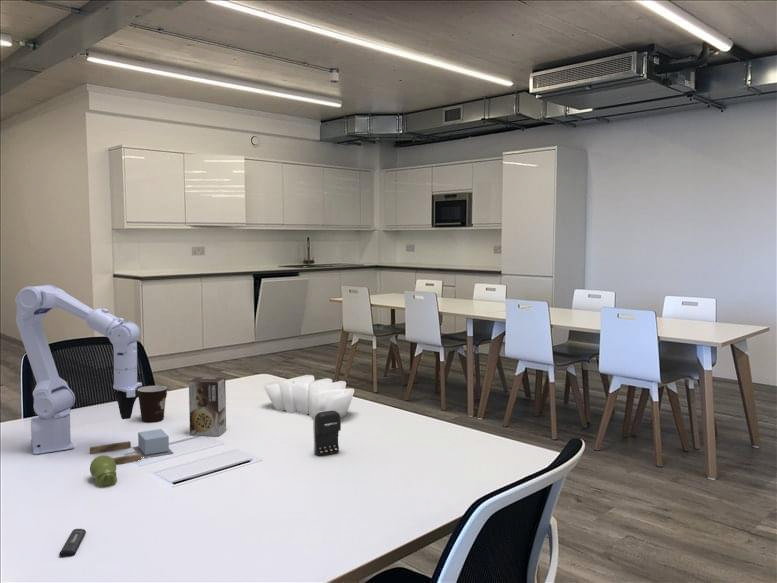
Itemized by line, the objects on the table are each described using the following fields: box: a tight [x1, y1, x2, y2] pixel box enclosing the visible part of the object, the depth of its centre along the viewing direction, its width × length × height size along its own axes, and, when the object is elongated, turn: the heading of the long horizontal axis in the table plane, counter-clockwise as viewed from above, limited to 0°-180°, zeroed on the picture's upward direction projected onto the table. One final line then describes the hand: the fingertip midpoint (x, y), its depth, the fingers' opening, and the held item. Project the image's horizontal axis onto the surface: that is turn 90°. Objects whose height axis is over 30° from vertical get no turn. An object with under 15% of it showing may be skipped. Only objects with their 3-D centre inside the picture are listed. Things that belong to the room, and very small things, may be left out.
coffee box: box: [188, 376, 227, 437], centre depth 184 cm, size 9×6×16 cm
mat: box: [132, 445, 174, 459], centre depth 168 cm, size 8×11×1 cm
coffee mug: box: [137, 385, 168, 424], centre depth 198 cm, size 12×9×10 cm
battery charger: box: [312, 410, 342, 456], centre depth 167 cm, size 7×4×11 cm, turn 121°
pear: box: [89, 454, 118, 488], centre depth 146 cm, size 6×5×10 cm
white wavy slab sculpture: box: [263, 374, 355, 419], centre depth 209 cm, size 35×16×10 cm, turn 50°
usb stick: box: [58, 528, 87, 558], centre depth 115 cm, size 10×3×2 cm, turn 14°
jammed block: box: [137, 428, 170, 455], centre depth 168 cm, size 6×8×4 cm
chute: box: [89, 440, 142, 466], centre depth 163 cm, size 10×13×2 cm
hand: (125, 418), depth 168 cm, fingers closed
